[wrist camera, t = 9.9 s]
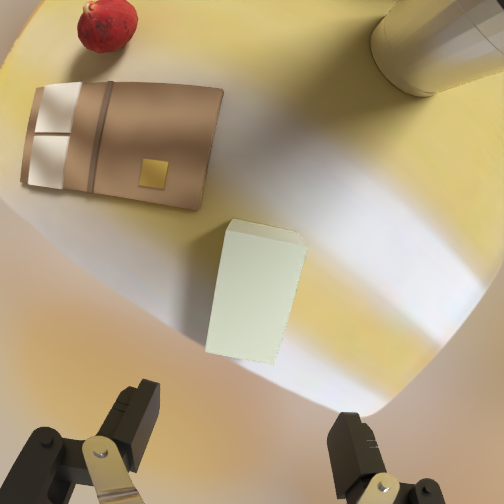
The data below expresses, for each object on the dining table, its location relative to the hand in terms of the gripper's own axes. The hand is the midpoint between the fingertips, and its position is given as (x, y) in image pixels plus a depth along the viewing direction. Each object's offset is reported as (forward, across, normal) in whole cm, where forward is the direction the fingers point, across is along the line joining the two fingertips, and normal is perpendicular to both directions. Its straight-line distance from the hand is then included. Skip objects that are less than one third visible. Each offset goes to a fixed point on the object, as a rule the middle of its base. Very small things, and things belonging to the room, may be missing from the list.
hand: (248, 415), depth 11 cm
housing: (+17, 0, 0) cm, 17 cm away
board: (+17, +17, -11) cm, 27 cm away
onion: (+17, +18, -22) cm, 33 cm away
